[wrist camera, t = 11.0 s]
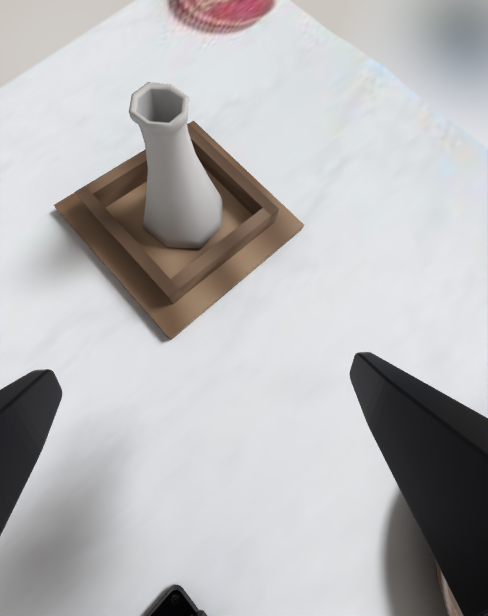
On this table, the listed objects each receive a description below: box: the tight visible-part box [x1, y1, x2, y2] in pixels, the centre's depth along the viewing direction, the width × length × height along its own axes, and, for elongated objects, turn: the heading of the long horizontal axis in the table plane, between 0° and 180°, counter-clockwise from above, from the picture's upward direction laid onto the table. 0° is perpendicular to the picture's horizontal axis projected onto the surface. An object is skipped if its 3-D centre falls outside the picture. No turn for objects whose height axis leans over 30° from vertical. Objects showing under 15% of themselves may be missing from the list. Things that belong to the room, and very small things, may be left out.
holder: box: [54, 121, 304, 340], centre depth 23 cm, size 16×16×3 cm
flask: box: [129, 82, 223, 249], centre depth 19 cm, size 7×7×10 cm
